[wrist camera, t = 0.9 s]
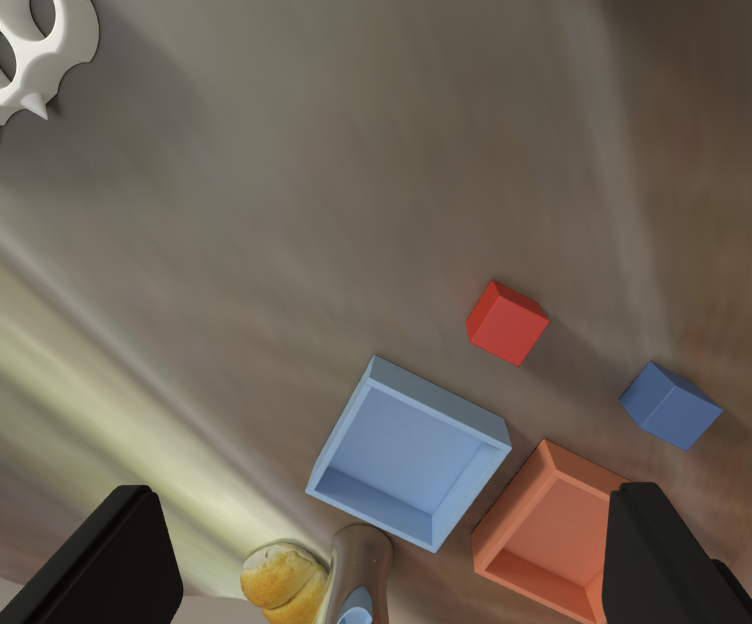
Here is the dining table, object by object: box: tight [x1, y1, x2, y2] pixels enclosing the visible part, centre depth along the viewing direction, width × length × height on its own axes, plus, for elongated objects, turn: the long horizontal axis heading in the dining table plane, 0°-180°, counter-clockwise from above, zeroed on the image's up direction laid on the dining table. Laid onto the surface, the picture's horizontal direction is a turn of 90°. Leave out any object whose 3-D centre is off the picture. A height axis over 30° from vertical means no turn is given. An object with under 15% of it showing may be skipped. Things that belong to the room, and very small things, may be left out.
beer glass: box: [309, 525, 394, 624], centre depth 38 cm, size 7×7×15 cm
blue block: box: [619, 362, 723, 451], centre depth 35 cm, size 4×4×4 cm
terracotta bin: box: [471, 439, 631, 624], centre depth 40 cm, size 12×12×4 cm
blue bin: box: [305, 355, 512, 553], centre depth 39 cm, size 12×12×4 cm
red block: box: [466, 280, 550, 367], centre depth 34 cm, size 4×4×4 cm
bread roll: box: [240, 543, 328, 624], centre depth 46 cm, size 8×9×4 cm
